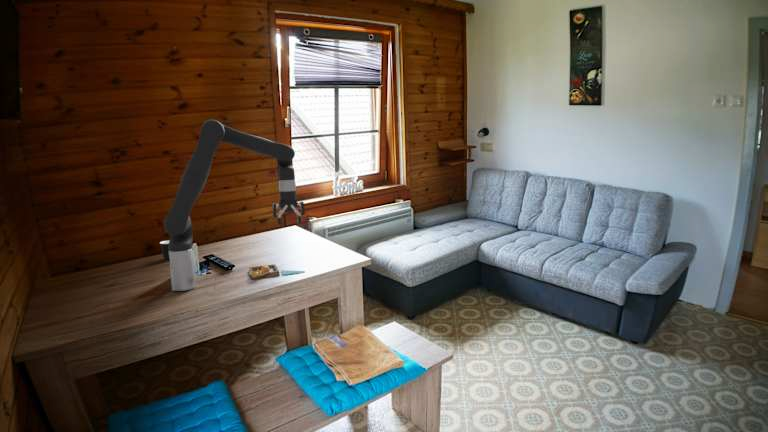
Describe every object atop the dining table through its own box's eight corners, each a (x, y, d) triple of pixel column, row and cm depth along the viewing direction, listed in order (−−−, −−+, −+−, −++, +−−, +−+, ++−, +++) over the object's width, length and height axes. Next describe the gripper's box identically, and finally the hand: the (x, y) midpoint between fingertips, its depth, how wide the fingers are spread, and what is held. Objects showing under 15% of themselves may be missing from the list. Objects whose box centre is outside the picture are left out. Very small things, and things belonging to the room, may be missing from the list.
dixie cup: (179, 262, 229) (177, 241, 227) (162, 264, 225) (160, 244, 223) (176, 259, 235) (174, 239, 234) (160, 261, 231) (158, 241, 229)
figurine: (276, 266, 201) (263, 264, 190) (274, 279, 200) (261, 277, 189) (260, 265, 203) (246, 262, 192) (258, 278, 202) (243, 276, 191)
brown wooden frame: (252, 279, 194) (251, 274, 194) (249, 271, 207) (249, 267, 207) (279, 275, 198) (279, 271, 198) (275, 268, 211) (275, 264, 211)
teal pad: (283, 275, 198) (283, 274, 198) (279, 270, 208) (279, 269, 207) (305, 272, 202) (305, 271, 202) (300, 267, 211) (300, 266, 211)
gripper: (272, 191, 193) (274, 227, 195) (304, 189, 198) (306, 224, 200) (270, 190, 200) (272, 225, 202) (301, 188, 205) (303, 222, 207)
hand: (289, 224), depth 201 cm, fingers open, 8 cm apart
